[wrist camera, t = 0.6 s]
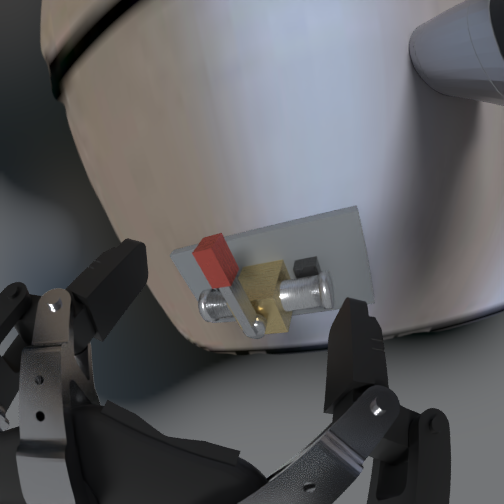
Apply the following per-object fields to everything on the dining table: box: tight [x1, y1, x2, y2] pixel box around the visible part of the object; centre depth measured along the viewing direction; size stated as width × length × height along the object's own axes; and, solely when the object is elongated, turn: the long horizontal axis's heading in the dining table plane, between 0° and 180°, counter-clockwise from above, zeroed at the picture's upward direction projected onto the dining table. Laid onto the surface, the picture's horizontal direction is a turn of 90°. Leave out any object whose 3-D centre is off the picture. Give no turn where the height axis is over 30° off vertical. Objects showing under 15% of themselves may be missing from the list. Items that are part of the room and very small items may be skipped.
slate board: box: [170, 206, 375, 323], centre depth 39 cm, size 28×15×2 cm, turn 113°
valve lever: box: [192, 233, 268, 339], centre depth 29 cm, size 14×3×3 cm, turn 23°
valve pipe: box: [198, 256, 335, 334], centre depth 36 cm, size 18×6×8 cm, turn 113°
